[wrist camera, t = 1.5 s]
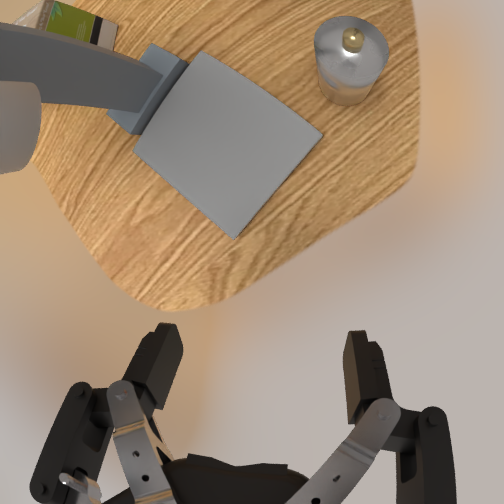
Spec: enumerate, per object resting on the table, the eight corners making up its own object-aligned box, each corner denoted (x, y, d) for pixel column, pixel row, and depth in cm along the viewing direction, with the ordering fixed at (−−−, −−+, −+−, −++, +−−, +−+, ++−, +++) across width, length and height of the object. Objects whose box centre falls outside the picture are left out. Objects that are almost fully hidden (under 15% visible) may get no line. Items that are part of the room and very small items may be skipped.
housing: (318, 58, 23) (312, 2, 12) (369, 63, 22) (390, 12, 11) (317, 103, 25) (312, 66, 14) (369, 109, 24) (395, 77, 13)
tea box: (49, 102, 32) (-24, 103, 19) (58, 50, 29) (-9, 39, 15) (109, 85, 29) (21, 71, 16) (121, 23, 26) (44, -7, 12)
